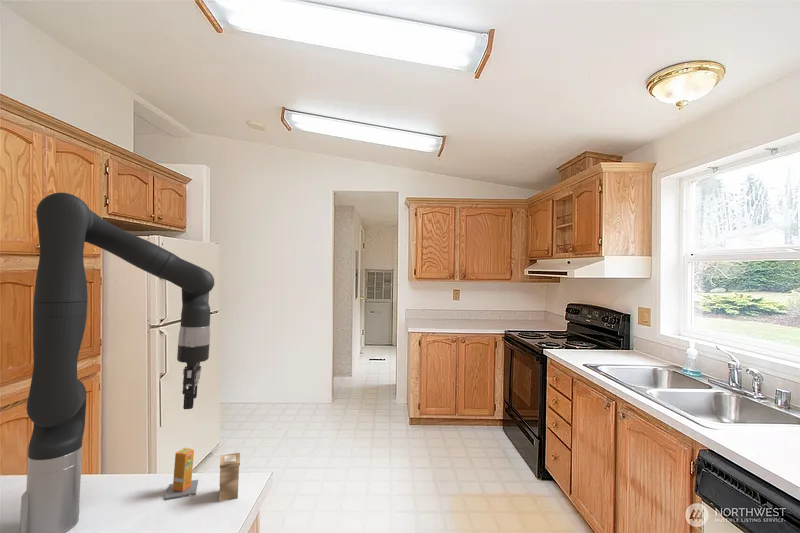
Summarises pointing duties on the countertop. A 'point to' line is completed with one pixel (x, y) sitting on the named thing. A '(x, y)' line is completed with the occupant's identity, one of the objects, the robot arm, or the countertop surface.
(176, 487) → the supplement box
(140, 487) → the countertop surface
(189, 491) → the coaster
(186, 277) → the robot arm
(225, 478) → the box
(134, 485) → the countertop surface
